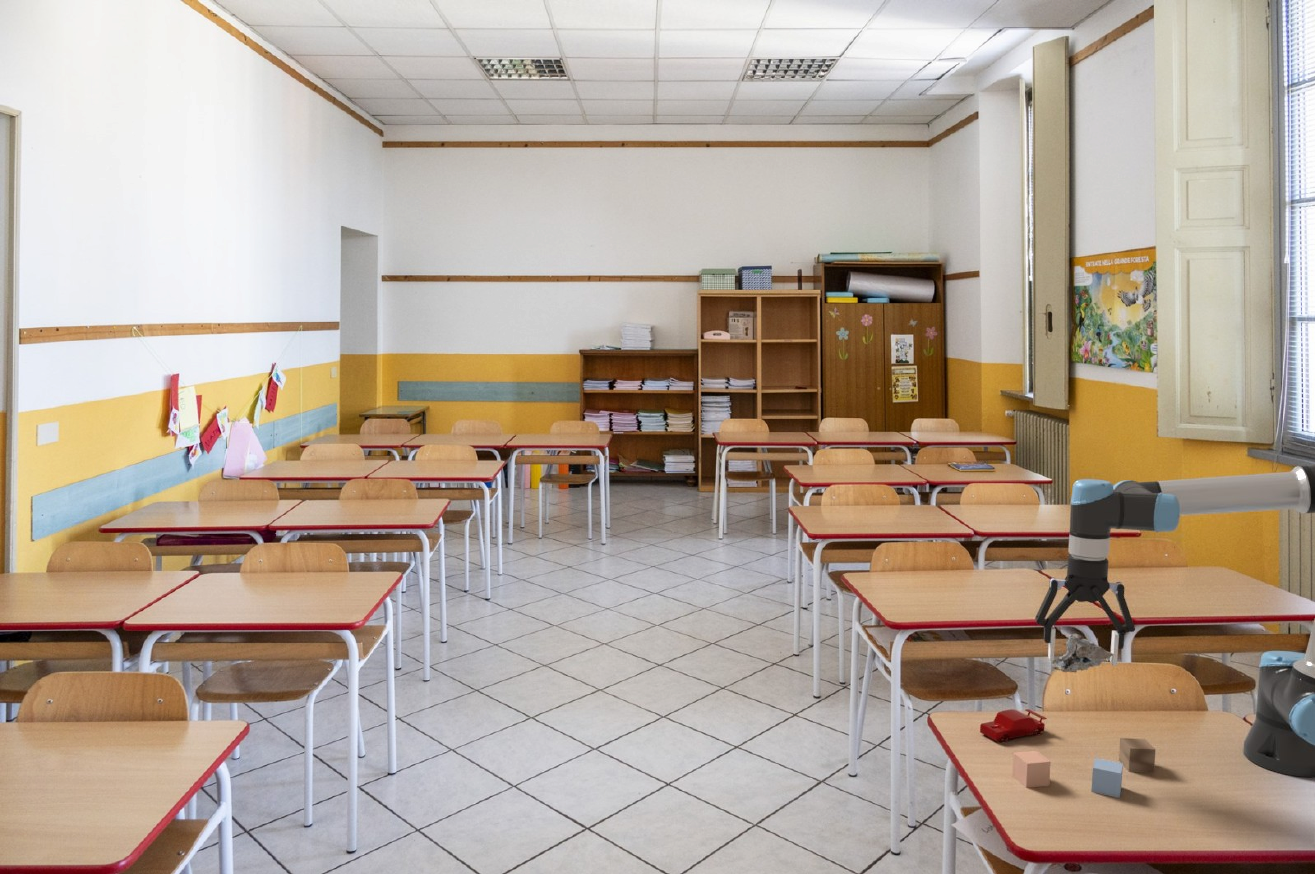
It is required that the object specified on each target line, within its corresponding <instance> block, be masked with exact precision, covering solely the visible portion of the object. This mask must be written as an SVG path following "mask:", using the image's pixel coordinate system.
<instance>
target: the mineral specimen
mask: <svg viewBox="0 0 1315 874" xmlns="http://www.w3.org/2000/svg"><path fill="white" fill-rule="evenodd" d="M1065 645H1066V650H1067V651H1066V653H1065V654H1063V655H1062V657H1061V658H1058V659H1056V660H1055V659H1054V661H1053V660H1052V663H1051V665H1052V668H1053V670H1056V671H1057V670H1058V671H1061V672H1062V673H1077V671H1087V670H1089V668H1094V667H1097V666H1098V667H1099V666H1100V665H1101V664H1102V663H1103V661H1105V660H1108V659H1110V657H1111V656H1112V655H1113V653H1111V651H1108V650H1105V648H1103V647H1101V646H1099V645H1097V644H1096V643H1095V642H1093V641H1091V640H1088V639H1087V638H1082V635H1080V634H1077V633H1071V634H1069V635H1068V640H1067V641H1066V644H1065Z"/></svg>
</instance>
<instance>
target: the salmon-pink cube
mask: <svg viewBox="0 0 1315 874" xmlns="http://www.w3.org/2000/svg"><path fill="white" fill-rule="evenodd" d="M1012 755H1013V756H1012V773H1011V776H1012V777H1013V778H1014V779H1015V780H1017V781H1018V782H1019V783H1020V784H1021V785H1023V786H1024V787H1025V788H1035V787H1036V788H1037V787H1047V786H1050V780H1051V779H1050V778H1051V777H1050V775H1051V761H1050V760H1049V759H1048V758H1046V757H1045V756H1044V755H1043V754H1041V753H1040V752H1039V751H1037V750H1030V751H1016V752H1013V754H1012Z"/></svg>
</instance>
